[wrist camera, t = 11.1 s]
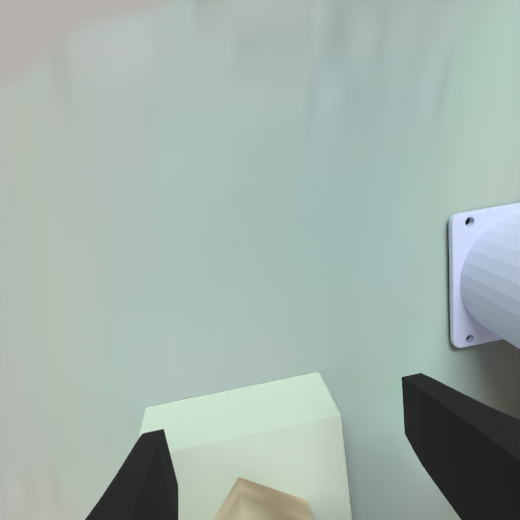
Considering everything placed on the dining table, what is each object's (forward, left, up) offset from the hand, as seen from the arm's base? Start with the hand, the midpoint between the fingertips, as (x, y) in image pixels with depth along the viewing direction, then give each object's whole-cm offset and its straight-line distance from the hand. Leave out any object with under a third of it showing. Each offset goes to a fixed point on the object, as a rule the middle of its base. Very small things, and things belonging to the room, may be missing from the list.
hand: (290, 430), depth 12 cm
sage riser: (+2, +10, -10) cm, 15 cm away
